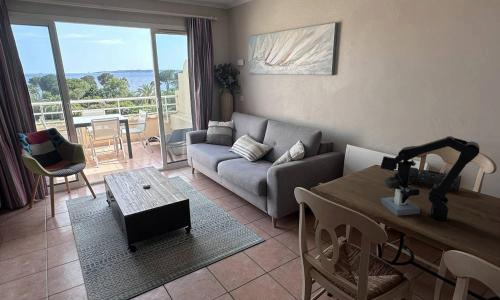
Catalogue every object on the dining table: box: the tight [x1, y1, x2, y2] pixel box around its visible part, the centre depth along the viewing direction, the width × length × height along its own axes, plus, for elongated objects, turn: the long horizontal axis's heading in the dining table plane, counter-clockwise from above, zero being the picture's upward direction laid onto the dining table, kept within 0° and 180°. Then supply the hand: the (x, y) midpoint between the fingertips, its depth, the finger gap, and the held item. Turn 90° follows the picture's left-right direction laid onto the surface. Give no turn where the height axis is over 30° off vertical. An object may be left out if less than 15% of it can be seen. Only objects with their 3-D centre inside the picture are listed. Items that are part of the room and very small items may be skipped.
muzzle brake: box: [409, 166, 462, 193], centre depth 168 cm, size 10×28×10 cm, turn 50°
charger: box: [394, 189, 408, 206], centre depth 143 cm, size 4×4×8 cm
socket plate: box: [380, 196, 421, 217], centre depth 145 cm, size 14×12×3 cm
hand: (400, 201), depth 144 cm, fingers closed on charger, 4 cm apart
